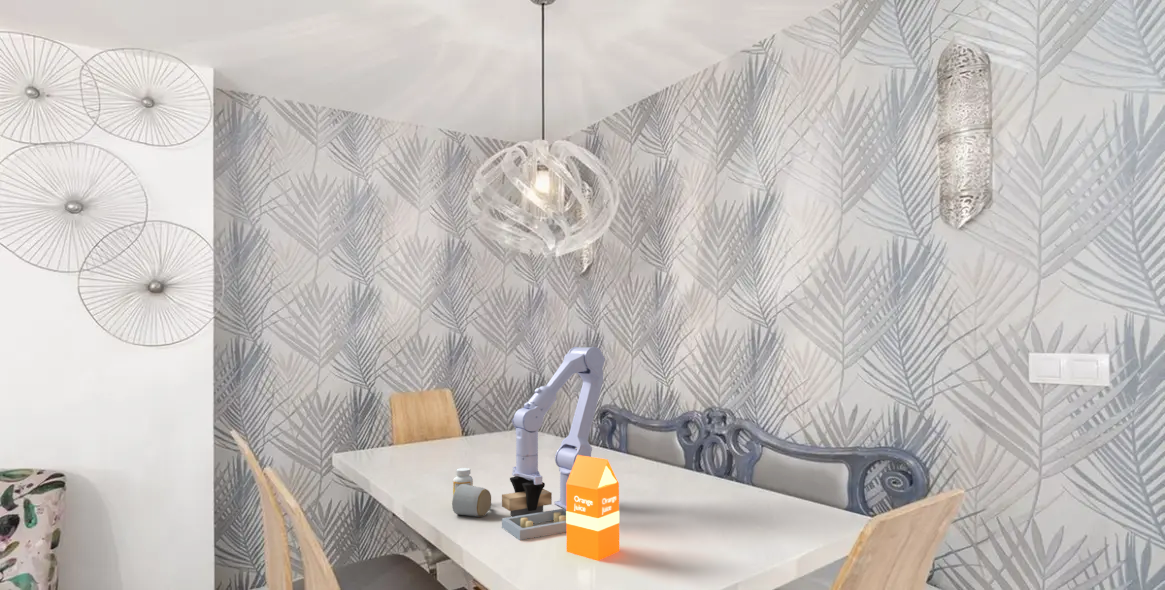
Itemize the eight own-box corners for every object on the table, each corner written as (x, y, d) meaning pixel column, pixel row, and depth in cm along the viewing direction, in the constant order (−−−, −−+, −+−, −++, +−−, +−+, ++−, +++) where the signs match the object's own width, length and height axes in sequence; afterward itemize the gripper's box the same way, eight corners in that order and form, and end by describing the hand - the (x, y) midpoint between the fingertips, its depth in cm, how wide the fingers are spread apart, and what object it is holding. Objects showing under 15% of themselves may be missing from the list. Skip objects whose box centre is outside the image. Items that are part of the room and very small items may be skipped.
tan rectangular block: (543, 500, 160) (543, 488, 160) (551, 504, 156) (551, 492, 156) (501, 506, 154) (501, 494, 155) (509, 510, 150) (509, 498, 150)
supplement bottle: (465, 507, 162) (466, 471, 163) (449, 505, 164) (449, 470, 165) (476, 502, 167) (476, 468, 168) (459, 500, 169) (460, 466, 170)
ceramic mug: (478, 520, 150) (479, 489, 151) (451, 517, 153) (451, 487, 154) (498, 510, 160) (499, 481, 161) (472, 507, 163) (472, 479, 164)
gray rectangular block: (538, 511, 158) (538, 501, 158) (543, 514, 156) (543, 504, 156) (510, 515, 154) (510, 506, 154) (515, 518, 152) (515, 508, 152)
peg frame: (564, 517, 153) (564, 507, 153) (585, 528, 144) (585, 517, 144) (501, 527, 144) (501, 517, 145) (519, 540, 135) (519, 529, 135)
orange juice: (588, 542, 134) (588, 452, 135) (620, 551, 128) (619, 456, 130) (565, 551, 128) (565, 457, 129) (597, 561, 122) (597, 462, 124)
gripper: (502, 451, 160) (502, 502, 159) (524, 460, 148) (524, 516, 147) (526, 449, 164) (525, 499, 163) (549, 457, 151) (549, 512, 150)
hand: (526, 507), depth 155 cm, fingers open, 6 cm apart
